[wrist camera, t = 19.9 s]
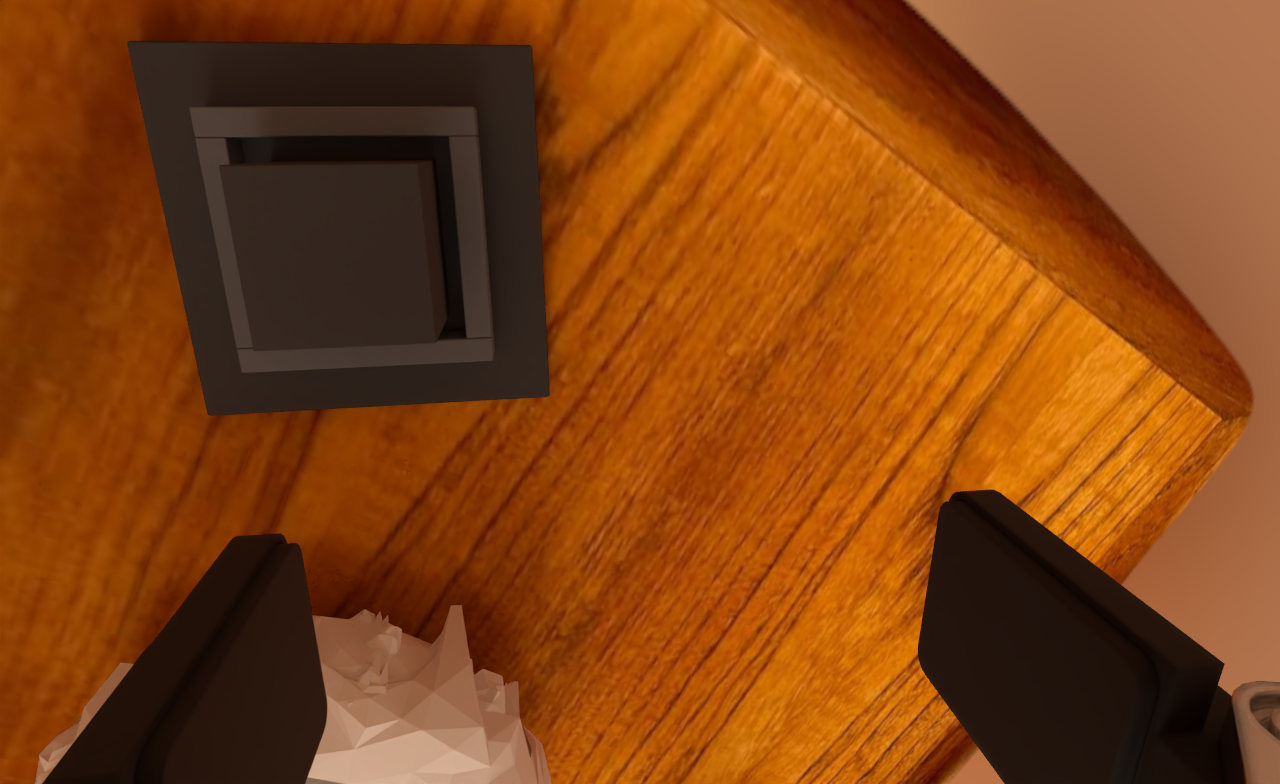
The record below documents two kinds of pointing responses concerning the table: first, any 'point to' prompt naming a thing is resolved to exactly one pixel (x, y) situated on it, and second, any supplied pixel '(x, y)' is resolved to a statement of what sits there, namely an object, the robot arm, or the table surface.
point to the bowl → (396, 711)
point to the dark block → (338, 252)
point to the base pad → (352, 131)
